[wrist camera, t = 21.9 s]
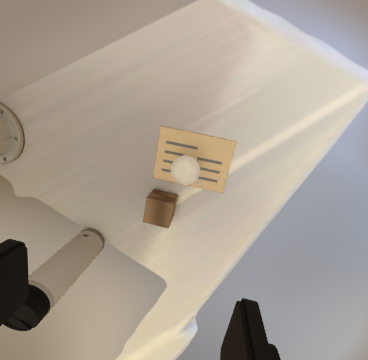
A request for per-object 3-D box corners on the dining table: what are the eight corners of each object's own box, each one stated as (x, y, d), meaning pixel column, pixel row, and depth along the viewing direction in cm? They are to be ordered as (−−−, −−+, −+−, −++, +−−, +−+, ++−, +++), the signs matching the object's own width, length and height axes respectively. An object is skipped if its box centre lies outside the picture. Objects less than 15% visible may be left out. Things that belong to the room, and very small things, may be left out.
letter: (153, 176, 42) (152, 177, 41) (161, 126, 39) (160, 126, 38) (222, 192, 41) (222, 192, 40) (235, 141, 38) (236, 141, 37)
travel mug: (88, 221, 47) (2, 292, 27) (110, 241, 47) (41, 323, 28) (72, 238, 48) (-18, 315, 29) (94, 257, 49) (19, 344, 30)
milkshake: (196, 179, 40) (191, 197, 31) (173, 163, 40) (162, 176, 30) (210, 160, 39) (210, 173, 29) (187, 143, 39) (179, 151, 29)
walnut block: (150, 210, 44) (142, 221, 39) (154, 189, 42) (146, 197, 38) (173, 216, 44) (168, 228, 39) (177, 194, 42) (173, 204, 37)
